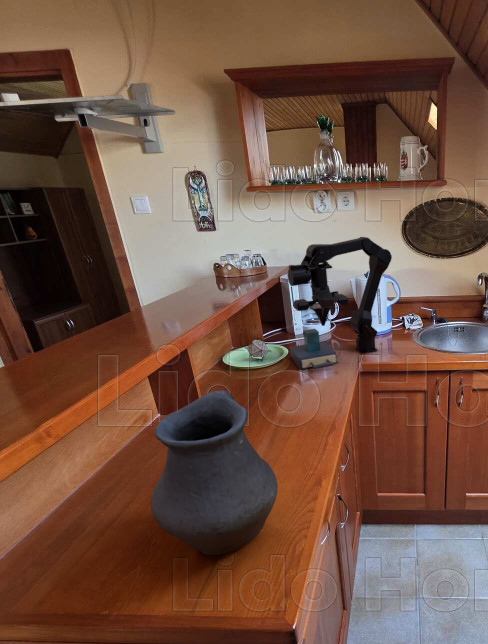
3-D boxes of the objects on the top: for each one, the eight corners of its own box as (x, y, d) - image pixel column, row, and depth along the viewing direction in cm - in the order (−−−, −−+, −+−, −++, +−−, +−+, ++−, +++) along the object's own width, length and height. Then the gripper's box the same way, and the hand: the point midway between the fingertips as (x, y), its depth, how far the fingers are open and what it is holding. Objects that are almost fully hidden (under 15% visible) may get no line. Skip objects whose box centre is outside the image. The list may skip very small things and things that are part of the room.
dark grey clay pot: (143, 583, 67) (96, 451, 57) (193, 495, 87) (164, 385, 77) (273, 575, 68) (249, 443, 58) (292, 489, 88) (277, 380, 77)
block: (316, 346, 158) (315, 328, 155) (320, 350, 154) (318, 331, 151) (305, 348, 156) (303, 330, 153) (308, 352, 153) (306, 333, 150)
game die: (266, 367, 162) (279, 347, 159) (250, 367, 154) (264, 345, 151) (251, 352, 164) (264, 332, 162) (236, 352, 157) (249, 330, 154)
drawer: (340, 366, 148) (340, 359, 147) (306, 372, 144) (305, 365, 143) (325, 351, 163) (324, 345, 162) (293, 357, 158) (293, 350, 157)
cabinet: (336, 363, 154) (335, 351, 152) (300, 369, 149) (299, 358, 147) (325, 351, 165) (324, 341, 164) (291, 357, 160) (289, 346, 158)
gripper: (299, 289, 136) (305, 335, 143) (352, 283, 144) (355, 327, 150) (290, 284, 146) (295, 327, 152) (340, 278, 153) (343, 319, 159)
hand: (323, 325), depth 153 cm, fingers closed
